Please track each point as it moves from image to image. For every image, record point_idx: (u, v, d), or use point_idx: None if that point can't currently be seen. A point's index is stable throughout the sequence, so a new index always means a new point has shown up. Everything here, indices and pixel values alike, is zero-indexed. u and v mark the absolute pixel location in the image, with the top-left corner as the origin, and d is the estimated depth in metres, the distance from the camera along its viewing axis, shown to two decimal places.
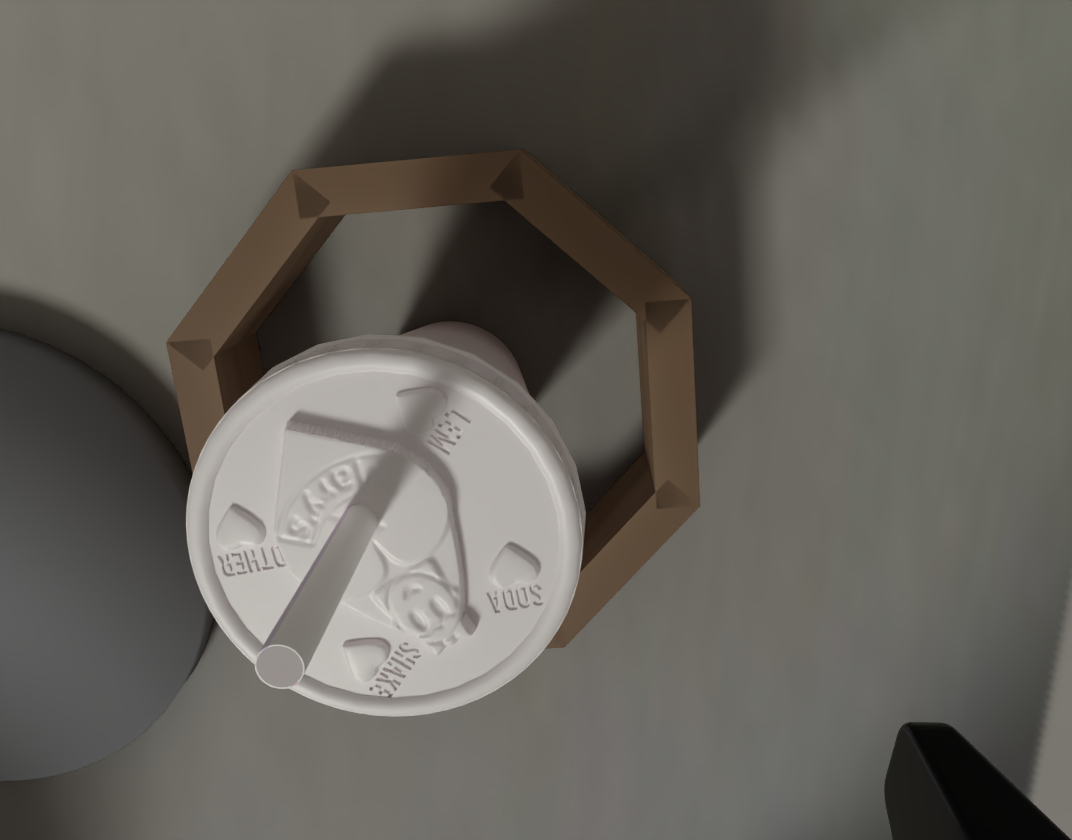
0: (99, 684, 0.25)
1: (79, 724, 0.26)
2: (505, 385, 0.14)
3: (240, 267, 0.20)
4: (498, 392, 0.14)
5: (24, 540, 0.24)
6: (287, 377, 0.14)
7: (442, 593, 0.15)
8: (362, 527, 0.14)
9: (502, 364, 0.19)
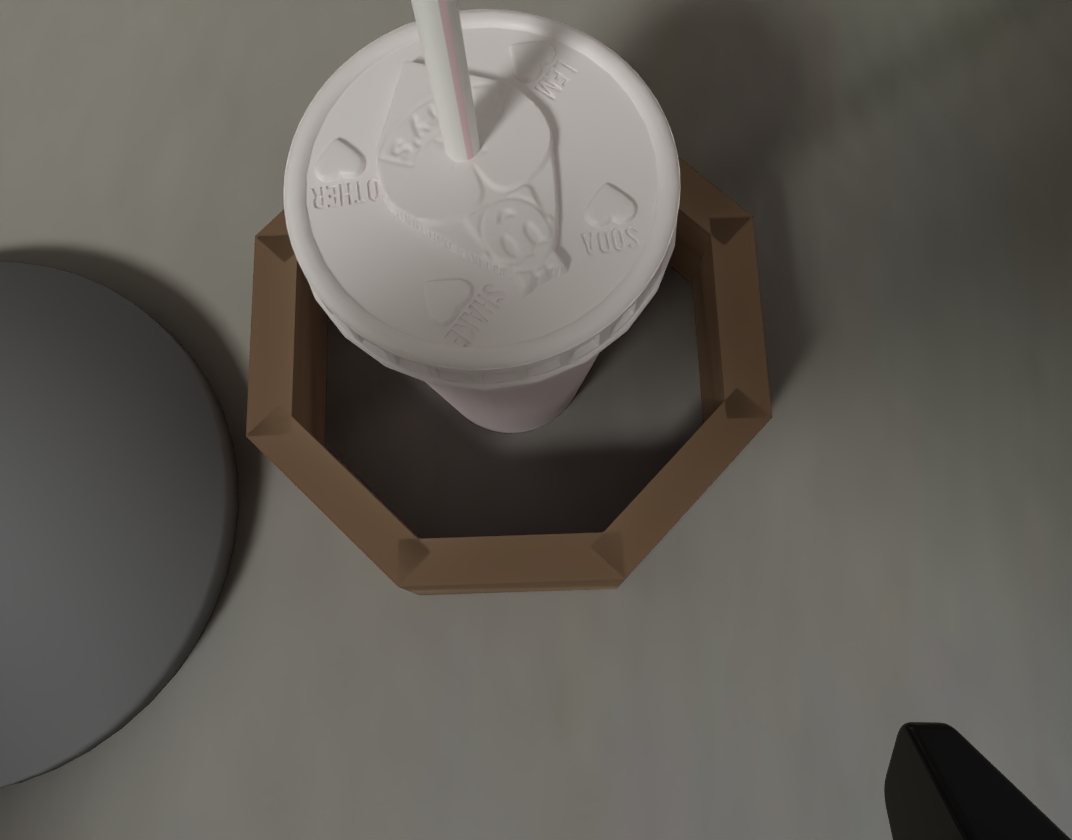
0: (64, 663, 0.21)
1: (22, 719, 0.21)
2: None
3: None
4: (604, 45, 0.15)
5: (38, 479, 0.22)
6: (413, 30, 0.15)
7: (537, 219, 0.14)
8: None
9: None
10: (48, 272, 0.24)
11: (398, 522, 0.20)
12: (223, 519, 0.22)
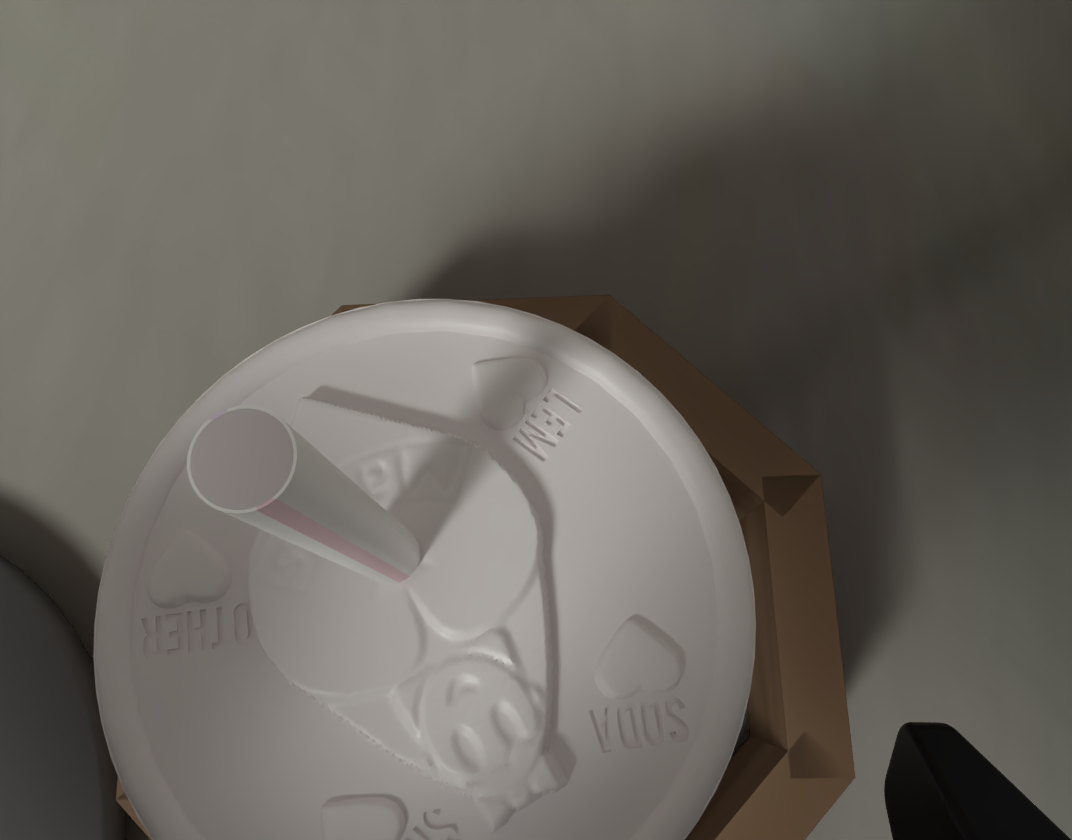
0: None
1: None
2: None
3: None
4: (626, 366, 0.09)
5: None
6: (317, 335, 0.09)
7: (515, 696, 0.08)
8: (401, 523, 0.08)
9: None
10: None
11: None
12: None
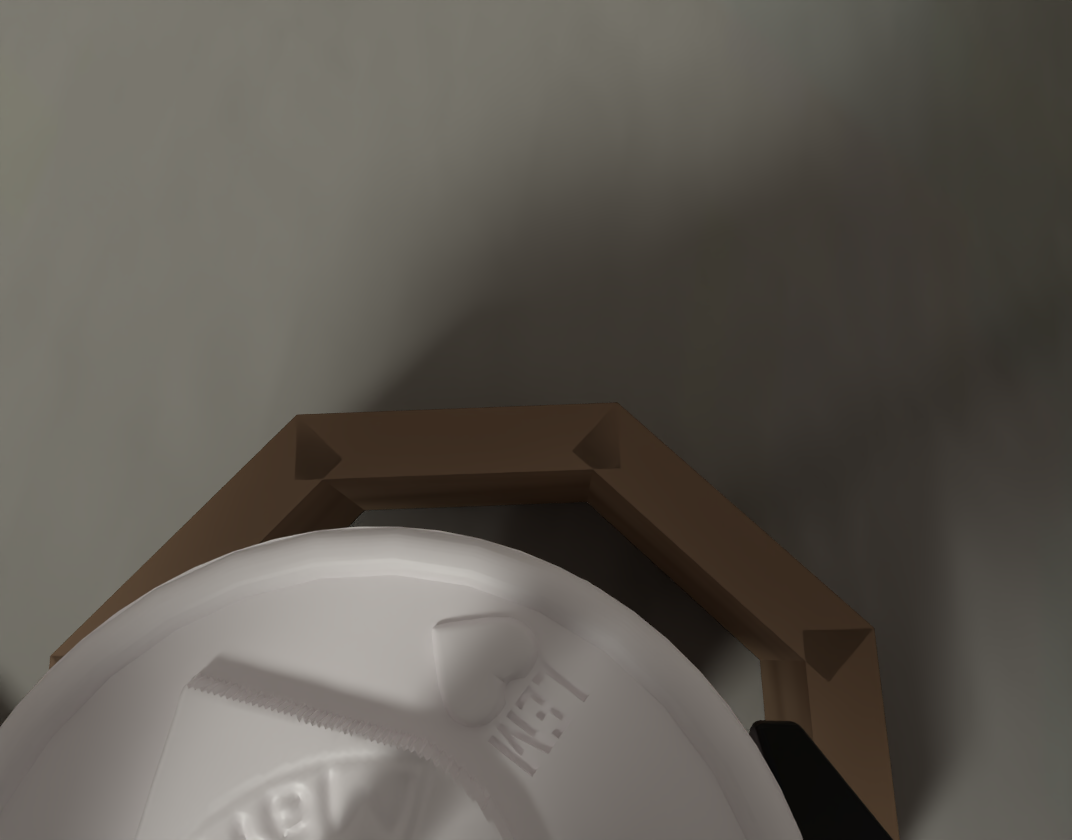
0: None
1: None
2: None
3: (193, 545, 0.13)
4: (650, 632, 0.07)
5: None
6: (215, 579, 0.07)
7: None
8: None
9: None
10: None
11: None
12: None
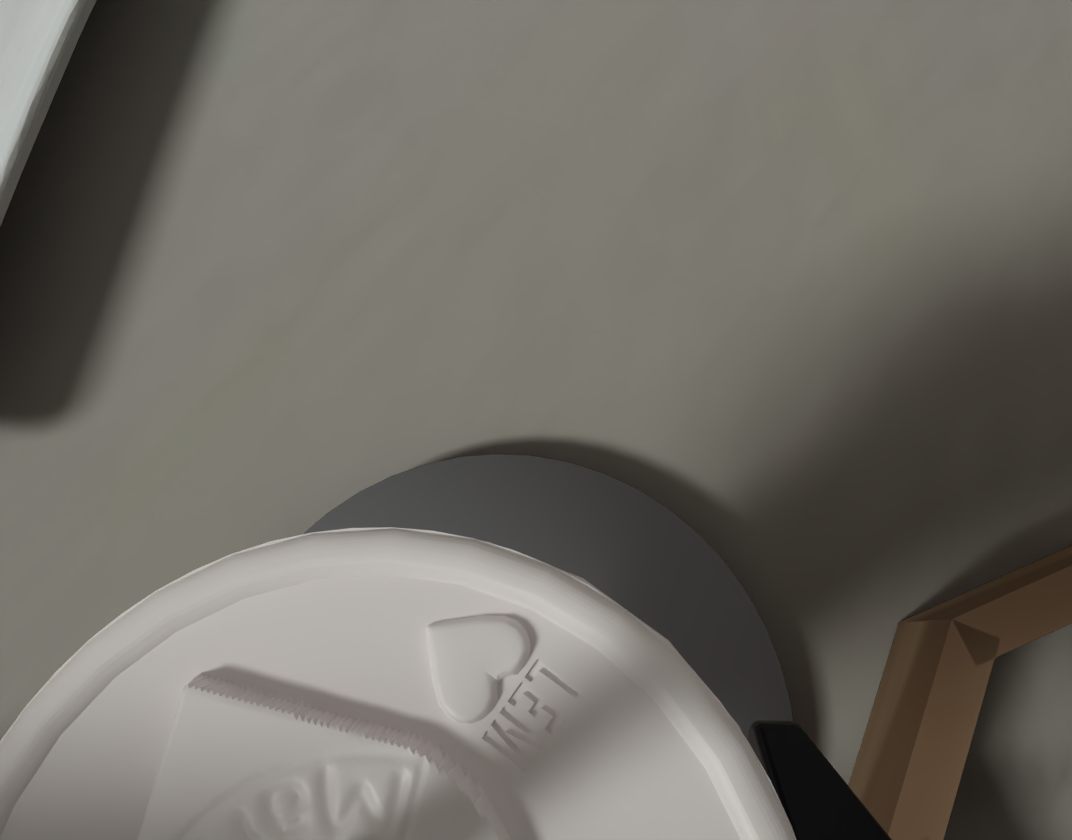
0: None
1: None
2: None
3: (1066, 586, 0.19)
4: (641, 629, 0.07)
5: None
6: (213, 582, 0.07)
7: None
8: None
9: None
10: (665, 514, 0.21)
11: None
12: None
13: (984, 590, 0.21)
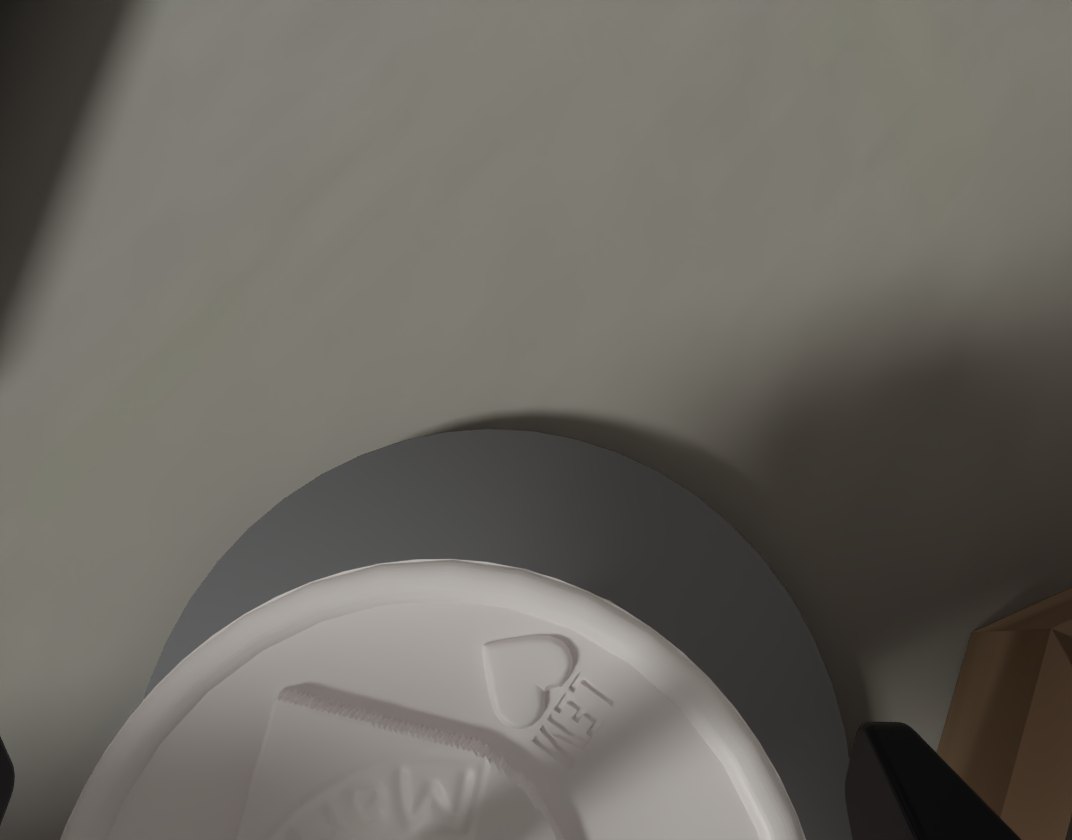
0: None
1: None
2: None
3: None
4: (667, 646, 0.08)
5: None
6: (294, 607, 0.08)
7: None
8: None
9: None
10: (690, 501, 0.18)
11: None
12: None
13: None
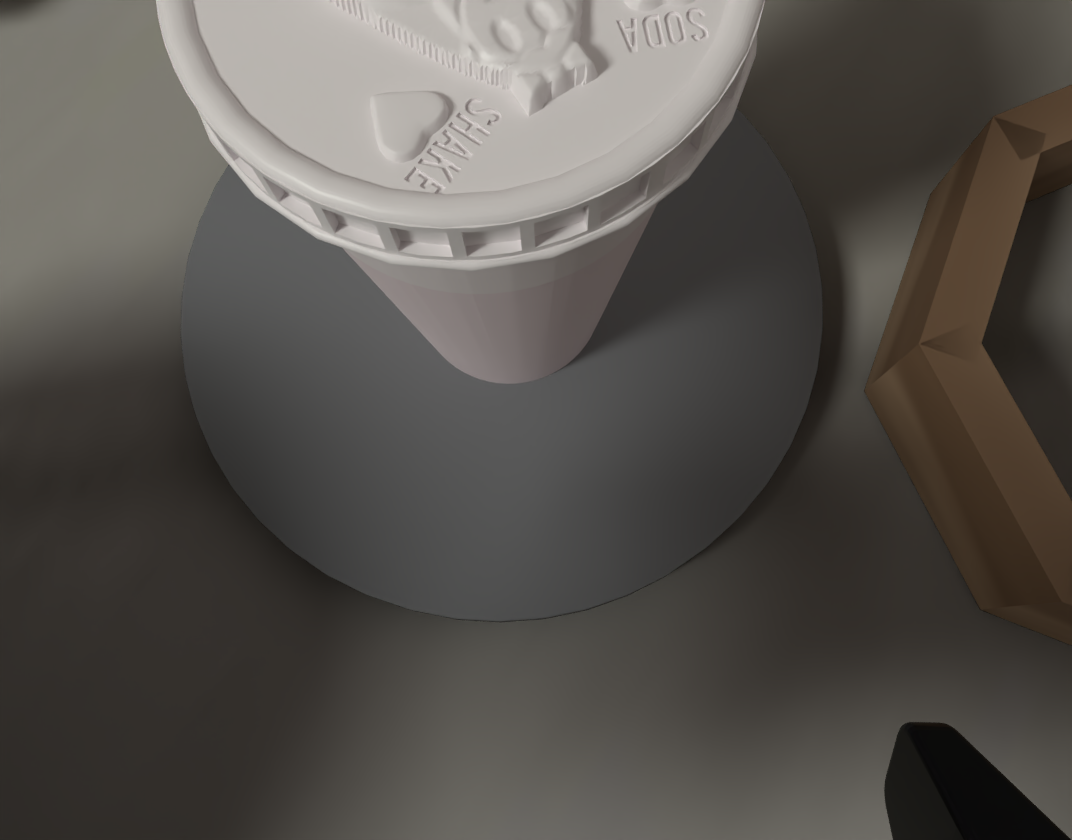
0: (570, 511, 0.18)
1: (504, 554, 0.17)
2: None
3: None
4: None
5: None
6: None
7: None
8: None
9: None
10: None
11: None
12: (797, 426, 0.18)
13: None
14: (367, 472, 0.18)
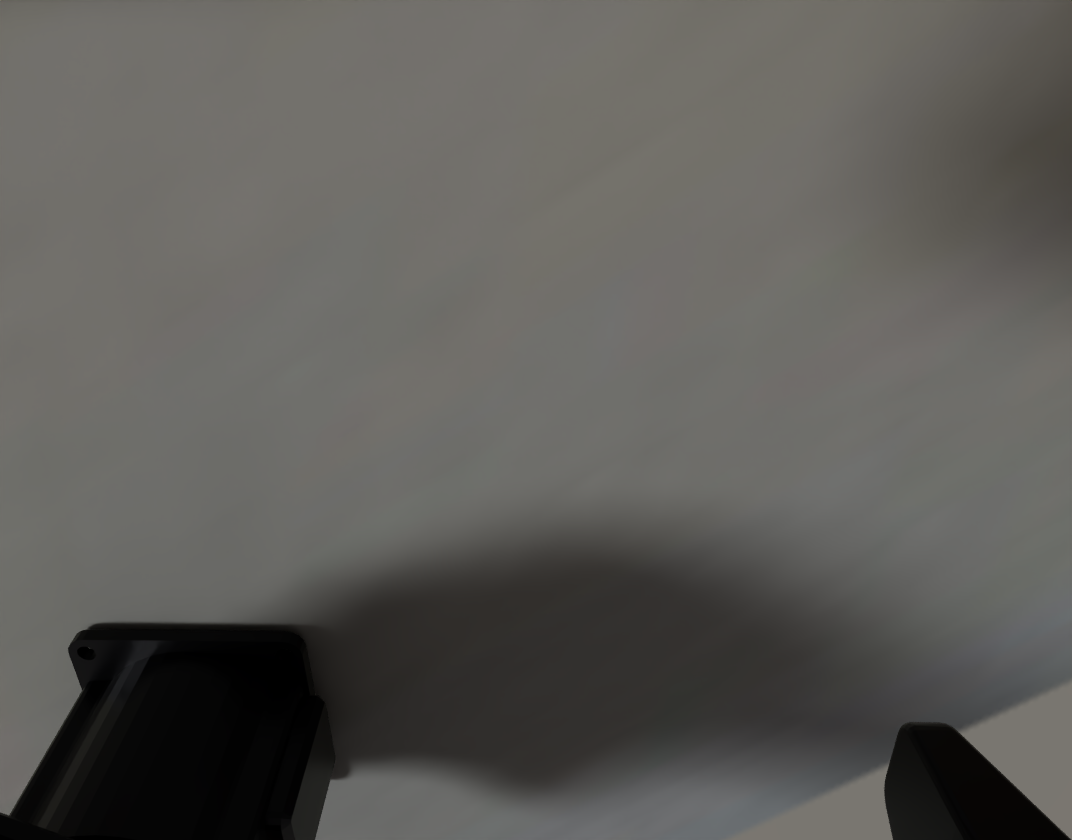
0: None
1: None
2: None
3: None
4: None
5: None
6: None
7: None
8: None
9: None
10: None
11: None
12: None
13: None
14: None
